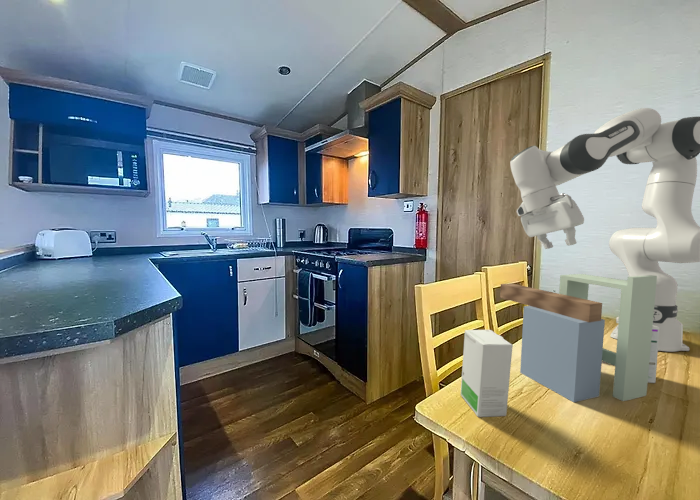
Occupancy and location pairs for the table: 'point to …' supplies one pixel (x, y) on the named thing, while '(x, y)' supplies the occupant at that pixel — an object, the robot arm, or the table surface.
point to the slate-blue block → (562, 353)
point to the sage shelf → (624, 328)
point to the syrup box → (653, 355)
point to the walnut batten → (553, 302)
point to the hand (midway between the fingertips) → (560, 246)
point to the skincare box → (486, 372)
